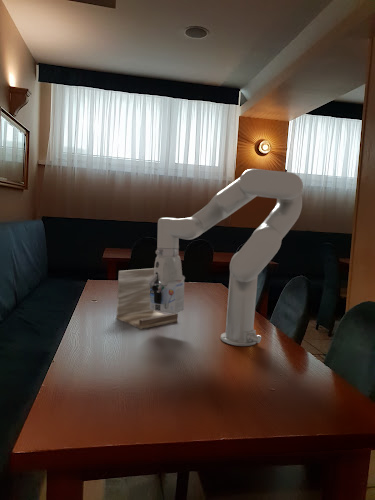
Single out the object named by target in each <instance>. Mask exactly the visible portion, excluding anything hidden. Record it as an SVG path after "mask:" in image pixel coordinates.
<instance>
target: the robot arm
mask: <svg viewBox="0 0 375 500" xmlns="http://www.w3.org/2000/svg"><path fill="white" fill-rule="evenodd" d="M303 185H304V184H303V179H301V177H300V176H299V175H297V173H294V172H288V171H279V170H278V171H277V170H268V169H261V168H249V169H246V170H244V172H243V173H242V174H241V175H240V177H238V178H237V179H235V180H234V181H233V182H232V183H230V184H229V185H227V186H226V187H225V188H222V189H221V190H220V191H219V192H217V193H216V194H214V196H213V197H212V198H211V200H210V201H209V202H208V203H207V204H206V205H205V206H204V207H202V209H200V210H198V211H197V212H196V213H194V214H193V215H192V216H190V217H185V218H184V217H183V218H176V217H160V218H159V219H158V220H157V246H156V247H157V248H156V250H155V254H156V257H155V259H154V260H155V261H154V267H153V268H154V276H153V277H152V278H151V279H150V280H149V281H148V283H149V285H150V288H151V289H152V290H153V292H154V303H157V304H161V297H162V293H160V291H161V289H162V287H163V286H167V285H168V282H174V281H179V280H182V281H184V282H185V280H186V277H185V275H183V270H182V269H183V267H182V266H183V265H182V261H181V260H182V259H181V256H180V255H179V254H180V253H179V249H180V245H179V243H180V242H179V241H180V240H179V239H182V240H194V239H196V238H198V237H199V236H201V235H202V234H203V233H205V232H207V231H208V230H210V229H211V228H212V227H214V226H215V225H217V224H218V223H220V222H221V221H222V220H225V219H227V218H228V217H229V216H231V215H232V214H234V213H235V212H237V211H238V210H239V209H241V208H242V207H244V206H245V205H247V204H248V203H249V202H251V201H252V200H253V199H255V198H256V197H260V198H269V199H276V203H275V206H274V208H273V209H272V210H271V211H270V213H269V215H267V217H266V218H265V219H264V221H263V222H262V223H261V224H260V225H259V226H258V227H257V228H256V229H255V230H254V231H253V233H252V234H251V236H250V237H249V238H248V239H247V241H245V243H244V244H243V245H242V247H241V248H240V249H239V251H237V252H236V253H234V254H233V256H232V257H231V260H230V262H229V283H228V293H227V294H228V295H227V307H226V308H227V309H226V320H225V322H226V323H225V332H223V333H221V334H220V341H222V342H223V343H226V344H228V345H230V346H231V345H232V346H237V347H250V346H253V345H256V344H260V343H261V341H262V338H263V337H262V335H259V334H257V330H256V329H254V326H255V315H256V314H255V312H256V300H257V292H258V291H257V289H258V278H259V277H258V276H259V275H260V274H261V273H262V271H263V270H264V269H265V267H267V265H268V264H269V263H270V262H271V261H272V260H273V258H274V257H275V256H276V254H277V253H278V251H279V250H280V248H281V245H282V240H283V238H285V237H286V235H287V234H288V233H289V231H290V230H291V229H292V227H293V226H294V225H295V223H296V222H297V220H298V219H299V217H300V215H301V212H302V210H303V209H302V208H303V198H302V191H303V188H304V186H303ZM156 281H157V282H156ZM158 281H159V283H158ZM155 282H156V284H155ZM154 284H155V285H154ZM158 286H159V287H158Z"/></svg>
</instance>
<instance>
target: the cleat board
mask: <svg viewBox="0 0 375 500" xmlns="http://www.w3.org/2000/svg"><path fill="white" fill-rule="evenodd" d="M153 276H154V267H152V268H141V269H140V268H139V269H128V270H127V269H126V270H118V279H117V296H116V297H117V298H116V300H117V301H116V320H119V321H122V322H124V323H126V324H129V325H132V326H134V327H136V328H139V329H140V330H143V329H147V328H151V327H152V328H153V327H156V326H157V327H158V326H161V325H165V324H166V325H167V324H171V323H177V322H178V317H179V316H178V313H175V314H172V313H167V314H166V313H165V314H164V313H162V312H160V311H155V310H150V285H149V283H148V281H149V280H150V279H151V278H152V277H153Z"/></svg>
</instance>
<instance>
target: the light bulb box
mask: <svg viewBox="0 0 375 500" xmlns="http://www.w3.org/2000/svg"><path fill="white" fill-rule="evenodd" d="M156 282H157V281H156ZM156 282H155V284H156ZM158 283H159V281H158ZM155 284H154V285H155ZM158 287H159V286H158ZM160 293H162V297H161V304H157V303H154V292H153V290H152V289H151V288H150V310H153V311H156V312H160V313H162V312H163V313H167V314H175V313H176V314H178V313H180V312H182V311H185V309H184V307H185V306H184V305H185V280H184V281H182V280H179V281H174V282H168V285H167V286H163V287H162V289H161V291H160Z"/></svg>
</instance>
